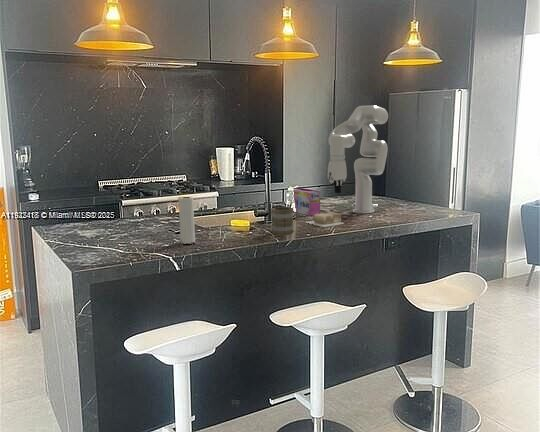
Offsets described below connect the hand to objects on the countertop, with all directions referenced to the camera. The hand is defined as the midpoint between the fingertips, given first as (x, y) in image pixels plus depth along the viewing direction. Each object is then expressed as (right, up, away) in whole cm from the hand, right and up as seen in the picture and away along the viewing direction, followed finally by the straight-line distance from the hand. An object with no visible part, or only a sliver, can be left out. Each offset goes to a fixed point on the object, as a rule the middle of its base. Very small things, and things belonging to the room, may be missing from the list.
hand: (337, 192), depth 288 cm
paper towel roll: (-73, -25, -43) cm, 89 cm away
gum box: (-16, -11, +32) cm, 37 cm away
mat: (-7, -16, -3) cm, 18 cm away
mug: (-30, -20, -22) cm, 43 cm away
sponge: (-1, -13, +1) cm, 13 cm away
